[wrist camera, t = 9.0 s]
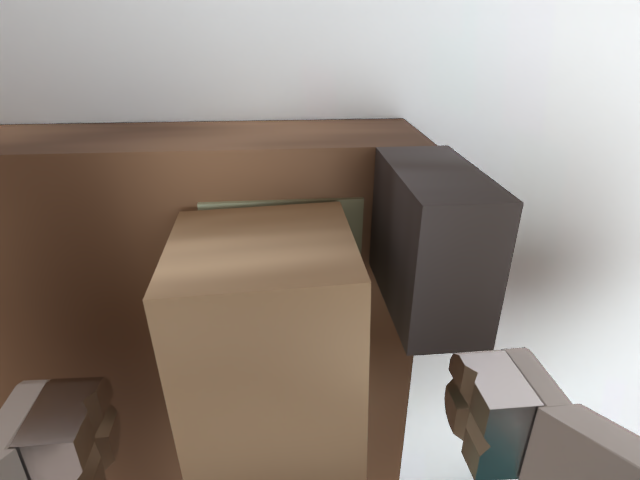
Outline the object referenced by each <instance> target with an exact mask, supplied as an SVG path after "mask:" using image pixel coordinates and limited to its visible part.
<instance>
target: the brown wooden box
mask: <svg viewBox="0 0 640 480" xmlns="http://www.w3.org/2000/svg"><path fill="white" fill-rule="evenodd" d="M339 201H340V203H341V206H342V208H343V211H344V213H345V216H346V218H347V221H348V224H349V226H350V229H351V231H352V234H353V237H354V239H355V242H356V244H357V247H358V249H359V252H360V255H361V257H362V260H363V262H364V265H365V268H366V270H367V273H368V275H369V278H370V280H371V315H370V357H369V399H368V441H367V480H399V476H400V467H401V458H402V450H403V441H404V433H405V424H406V415H407V407H408V398H409V389H410V381H411V372H412V363H413V355H428V354H444V353H460V352H475V351H491V350H493V349H494V344H495V339H496V334H497V329H498V325H499V320H500V315H501V310H502V305H503V300H504V296H505V291H506V286H507V281H508V276H509V271H510V266H511V262H512V257H513V252H514V247H515V242H516V237H517V232H518V228H519V223H520V218H521V213H522V208H523V202H522V201H520V200H519V199H518V198H516V197H515V196H514V195H512V194H511V193H510V192H508V191H507V190H506V189H505V188H503V187H502V186H501V185H499V184H498V183H497V182H495V181H494V180H493V179H491V178H490V177H489V176H487V175H486V174H485V173H483V172H482V171H481V170H479V169H478V168H477V167H475V166H474V165H473V164H471V163H470V162H469V161H468V160H466V159H465V158H464V157H462V156H461V155H460V154H458V153H457V152H456V151H454V150H453V149H452V148H450V147H449V146H437V145H436V144H435V143H434V142H432V141H431V140H430V139H429V138H427V137H426V136H425V135H424V134H422V133H421V132H420V131H419V130H417V129H416V128H415V127H414V126H412V125H411V124H410V123H409V122H407V121H406V120H405V119H344V120H277V121H211V122H145V123H78V124H12V125H0V409H1V407H2V406H3V404H4V403H5V401H6V400H7V398H8V397H9V395H10V394H11V392H12V391H13V389H14V388H15V386H16V385H17V384H19V383H21V382H22V381H27V380H51V379H60V378H83V377H107V378H109V379H110V382H111V385H112V388H113V392H114V393H113V395H112V398H111V401H110V404H111V405H112V406H113V407H115V408H116V409H117V410H118V413H119V417H120V426H121V435H120V443H119V449H118V452H117V456H116V459H115V462H114V463H112V464H111V465H110V466H109V467H108V468H107V469H106V470H105V475H106V478H107V480H183V478H182V473H181V469H180V464H179V460H178V456H177V451H176V447H175V442H174V438H173V433H172V429H171V424H170V420H169V416H168V411H167V407H166V402H165V398H164V393H163V389H162V384H161V380H160V376H159V371H158V367H157V362H156V358H155V353H154V349H153V344H152V340H151V336H150V331H149V327H148V322H147V318H146V313H145V309H144V304H143V298H144V296H145V293H146V291H147V288H148V286H149V284H150V281H151V279H152V276H153V274H154V272H155V269H156V267H157V264H158V262H159V260H160V257H161V255H162V252H163V250H164V248H165V245H166V243H167V240H168V238H169V236H170V233H171V231H172V228H173V226H174V224H175V221H176V219H177V216H178V214H179V212H181V211H197V210H213V209H228V208H244V207H260V206H276V205H291V204H307V203H323V202H339Z"/></svg>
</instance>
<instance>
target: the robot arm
mask: <svg viewBox="0 0 640 480" xmlns="http://www.w3.org/2000/svg"><path fill="white" fill-rule="evenodd" d="M449 371H450V373H451V375H452V377H453V379H452V380H451V381H450V382H449V383H448V385H447V386H446V391H445V409H446V415H447V419H448V422H449V425H450V427H451V429H452V432H453V434H455V435H456V436H458V437H459V438H460V439H462V440H463V446H462V451H461V452H462V454H463V457H464V459H465V461H466V463H467V465H468V468H469V470H470V472H471V474H472V476H473V479H474V480H506V479H518V480H640V436H638V435H636V434H635V433H633V432H631V431H629V430H627V429H626V428H624V427H622V426H620V425H618V424H616V423H615V422H613V421H611V420H609V419H607V418H605V417H604V416H602V415H600V414H598V413H596V412H594V411H593V410H591V409H589V408H587V407H585V406H583V405H582V404H572V403H571V401H570V400H569V399H568V397H567V396H566V395H565V394H564V392H563V391H562V390H561V389H560V387H559V386H558V385H557V384H556V382H555V381H554V380H553V378H552V377H551V376H550V375H549V373H548V372H547V371H546V370H545V368H544V367H543V366H542V365H541V363H540V362H539V361H538V359H537V358H536V357H535V356H534V354H533V353H532V352H531V351H530V350H529V349H527V348H525V347H522V348H511V349H501V350H493V351H479V352H466V353H453V355H452V357H451V359H450V364H449ZM113 393H114V392H113V388H112V385H111V382H110V379H109V378H107V377H83V378H60V379H51V380H27V381H22V382H21V383H19V384H17V385H16V386H15V388H14V389H13V391H12V392H11V394H10V395H9V397H8V398H7V400H6V401H5V403H4V404H3V406H2V407H1V409H0V480H107V478H106V475H105V470H106V469H107V468H108V467H109V466H110V465H111V464H112V463H114V462H115V459H116V456H117V452H118V449H119V443H120V435H121V426H120V417H119V413H118V410H117V409H116V408H115V407H113V406H112V405H111V404H110V401H111V398H112V395H113Z"/></svg>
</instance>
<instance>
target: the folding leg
mask: <svg viewBox="0 0 640 480" xmlns="http://www.w3.org/2000/svg"><path fill="white" fill-rule="evenodd" d="M143 304H144V309H145V313H146V318H147V322H148V327H149V331H150V336H151V340H152V344H153V349H154V353H155V358H156V362H157V367H158V371H159V376H160V380H161V384H162V389H163V393H164V398H165V402H166V407H167V411H168V416H169V420H170V424H171V429H172V433H173V438H174V442H175V447H176V451H177V456H178V460H179V464H180V469H181V473H182V478H183V480H367V441H368V399H369V357H370V315H371V280H370V278H369V275H368V273H367V270H366V268H365V265H364V262H363V260H362V257H361V255H360V252H359V249H358V247H357V244H356V242H355V239H354V237H353V234H352V231H351V229H350V226H349V224H348V221H347V218H346V216H345V213H344V211H343V208H342V206H341V203H340V201H339V202H323V203H307V204H291V205H276V206H260V207H244V208H228V209H213V210H197V211H181V212H179V214H178V216H177V219H176V221H175V224H174V226H173V228H172V231H171V233H170V236H169V238H168V240H167V243H166V245H165V248H164V250H163V252H162V255H161V257H160V260H159V262H158V264H157V267H156V269H155V272H154V274H153V276H152V279H151V281H150V284H149V286H148V288H147V291H146V293H145V296H144V298H143Z"/></svg>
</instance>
